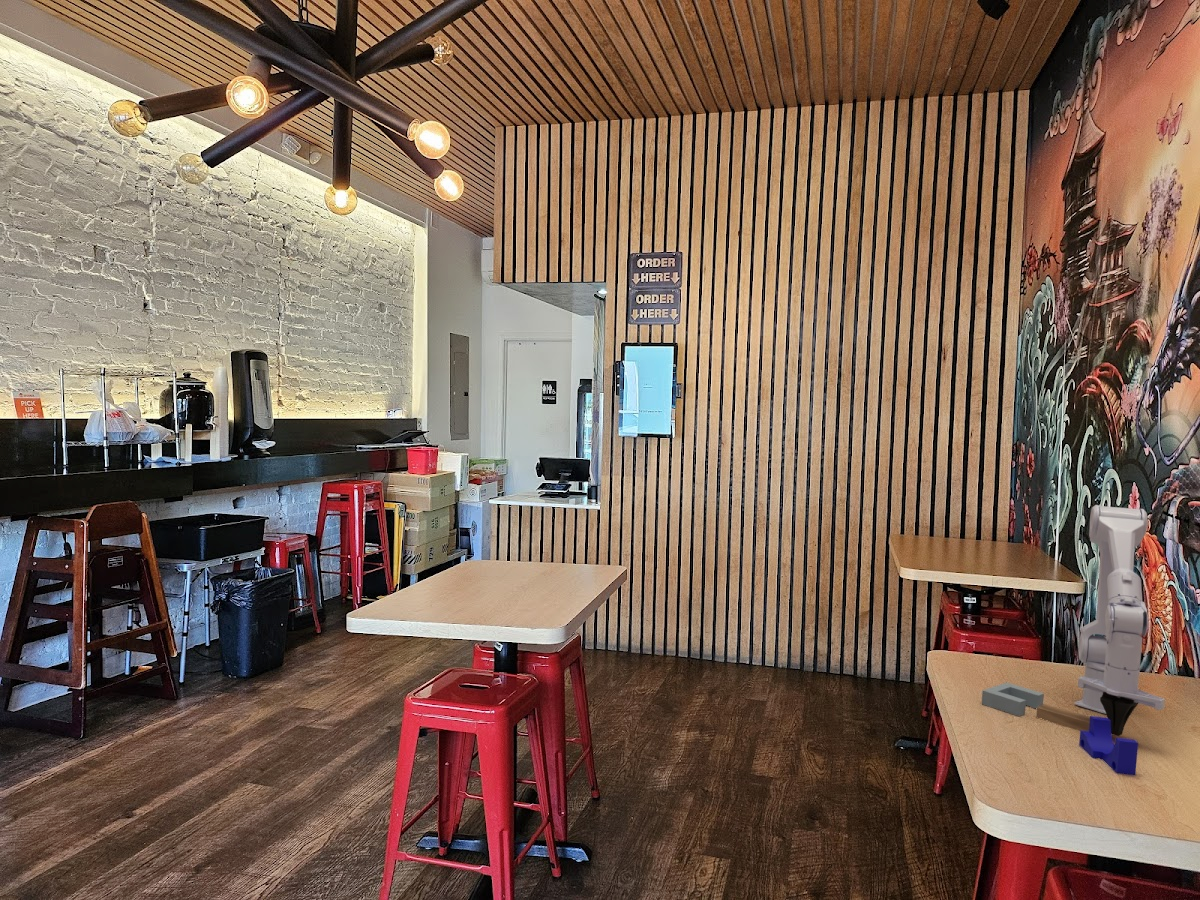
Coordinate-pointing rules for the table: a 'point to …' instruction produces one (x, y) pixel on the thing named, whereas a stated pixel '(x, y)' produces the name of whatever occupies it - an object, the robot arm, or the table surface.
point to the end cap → (1011, 698)
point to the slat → (1063, 717)
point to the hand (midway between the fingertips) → (1116, 733)
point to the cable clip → (1109, 746)
